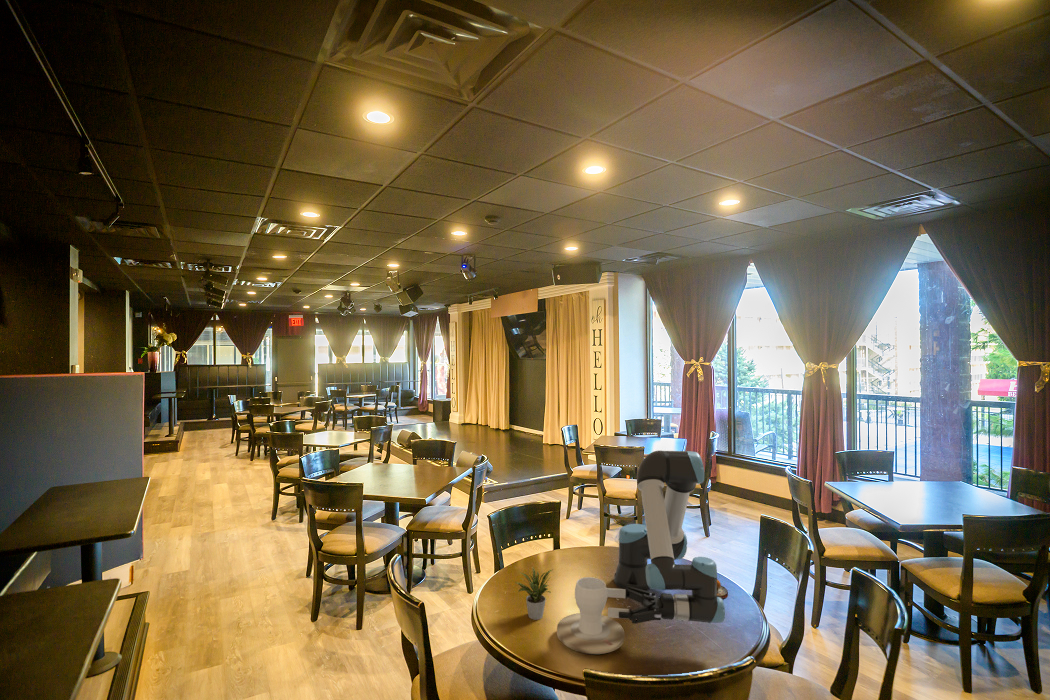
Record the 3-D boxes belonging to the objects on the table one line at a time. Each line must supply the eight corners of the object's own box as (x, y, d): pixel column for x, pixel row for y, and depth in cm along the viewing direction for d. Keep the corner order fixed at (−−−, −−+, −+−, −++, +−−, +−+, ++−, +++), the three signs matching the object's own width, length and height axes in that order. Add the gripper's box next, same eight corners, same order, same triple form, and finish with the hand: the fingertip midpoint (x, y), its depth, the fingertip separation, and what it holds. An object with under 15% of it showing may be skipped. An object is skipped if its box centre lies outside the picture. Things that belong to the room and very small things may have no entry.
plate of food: (704, 583, 210) (704, 565, 210) (732, 593, 202) (733, 574, 202) (691, 593, 201) (691, 574, 202) (720, 603, 193) (720, 584, 193)
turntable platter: (544, 627, 170) (544, 623, 170) (594, 611, 181) (594, 606, 181) (584, 661, 151) (585, 656, 151) (638, 641, 163) (638, 636, 163)
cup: (605, 639, 160) (606, 592, 160) (572, 635, 162) (573, 588, 163) (607, 622, 171) (608, 578, 171) (576, 618, 173) (576, 574, 173)
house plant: (536, 600, 193) (537, 557, 193) (564, 614, 183) (564, 569, 183) (509, 613, 183) (510, 568, 183) (536, 629, 173) (537, 581, 173)
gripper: (680, 639, 151) (608, 634, 153) (667, 600, 175) (605, 595, 178) (680, 614, 151) (608, 609, 153) (667, 578, 176) (605, 574, 178)
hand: (606, 601), depth 166 cm, fingers open, 13 cm apart
